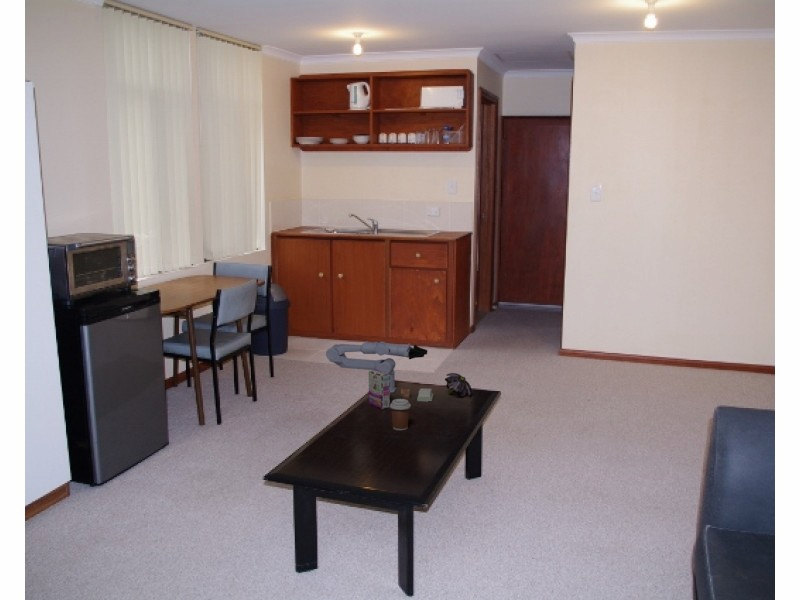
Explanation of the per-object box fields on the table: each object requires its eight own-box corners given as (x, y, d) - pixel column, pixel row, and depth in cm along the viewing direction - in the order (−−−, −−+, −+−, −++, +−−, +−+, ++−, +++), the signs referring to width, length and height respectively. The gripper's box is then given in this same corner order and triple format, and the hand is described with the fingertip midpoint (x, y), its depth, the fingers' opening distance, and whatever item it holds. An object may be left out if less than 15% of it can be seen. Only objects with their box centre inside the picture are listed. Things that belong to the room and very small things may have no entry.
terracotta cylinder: (400, 399, 351) (400, 390, 350) (401, 396, 355) (401, 387, 354) (408, 399, 350) (408, 390, 349) (410, 396, 354) (410, 388, 353)
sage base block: (417, 401, 348) (417, 396, 348) (419, 397, 355) (419, 392, 354) (431, 402, 347) (431, 397, 346) (433, 398, 354) (433, 393, 353)
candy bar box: (390, 407, 338) (390, 373, 335) (382, 409, 335) (381, 375, 332) (376, 401, 346) (376, 368, 344) (368, 403, 344) (368, 370, 341)
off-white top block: (418, 396, 348) (418, 391, 348) (420, 393, 354) (420, 388, 353) (430, 397, 347) (430, 392, 347) (431, 393, 352) (431, 388, 352)
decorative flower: (463, 382, 345) (443, 367, 355) (453, 403, 347) (433, 388, 357) (481, 384, 355) (461, 370, 365) (472, 405, 357) (452, 390, 367)
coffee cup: (399, 422, 317) (399, 396, 315) (415, 427, 311) (415, 400, 309) (385, 428, 310) (385, 401, 308) (401, 433, 305) (401, 405, 302)
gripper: (396, 344, 353) (423, 347, 349) (403, 340, 367) (429, 343, 363) (395, 359, 353) (422, 362, 350) (402, 354, 367) (428, 357, 364)
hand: (425, 353), depth 357 cm, fingers open, 7 cm apart
